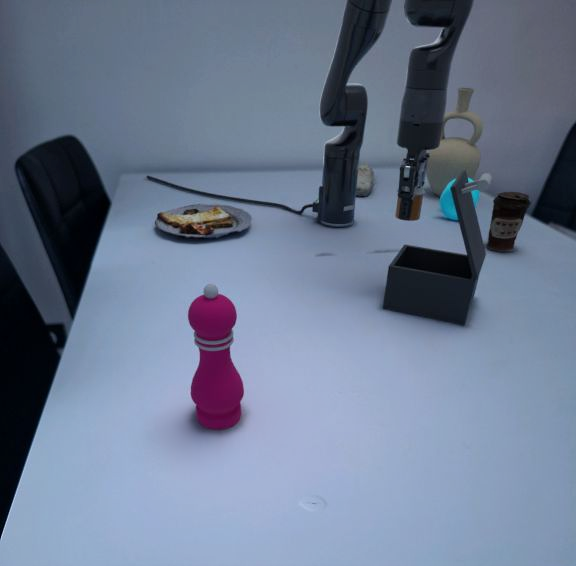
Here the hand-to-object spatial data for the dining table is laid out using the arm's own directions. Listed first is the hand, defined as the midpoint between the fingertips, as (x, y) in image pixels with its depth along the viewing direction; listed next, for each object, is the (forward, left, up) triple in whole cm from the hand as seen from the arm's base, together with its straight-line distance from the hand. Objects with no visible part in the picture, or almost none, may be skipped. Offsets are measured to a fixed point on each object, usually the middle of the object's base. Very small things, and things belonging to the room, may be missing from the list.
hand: (407, 215), depth 102 cm
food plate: (-56, +16, -16) cm, 60 cm away
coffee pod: (0, 0, 0) cm, 0 cm away
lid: (+11, -3, +1) cm, 12 cm away
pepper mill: (-13, -52, -16) cm, 56 cm away
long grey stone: (-32, +79, -16) cm, 86 cm away
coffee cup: (+17, +36, -16) cm, 43 cm away
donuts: (+3, +57, -16) cm, 59 cm away
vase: (-3, +78, -16) cm, 80 cm away
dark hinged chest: (+7, -3, -16) cm, 18 cm away
